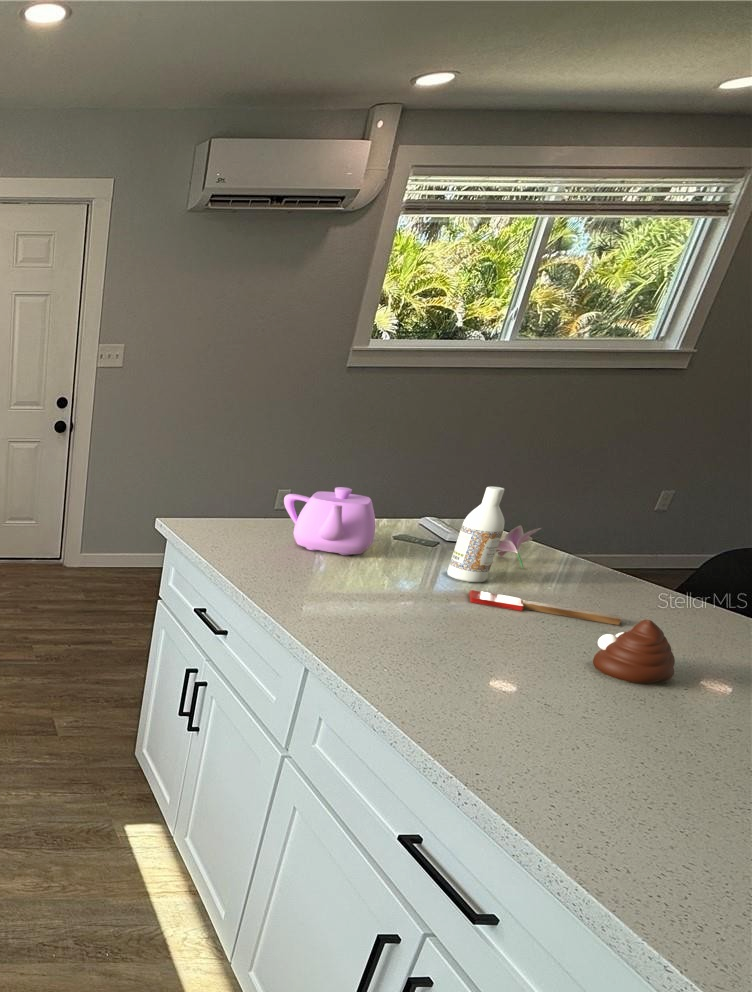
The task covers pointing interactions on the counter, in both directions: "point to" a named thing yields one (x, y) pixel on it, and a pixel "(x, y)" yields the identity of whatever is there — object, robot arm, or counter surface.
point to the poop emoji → (636, 654)
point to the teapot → (333, 521)
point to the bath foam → (478, 539)
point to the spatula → (539, 607)
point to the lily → (514, 541)
